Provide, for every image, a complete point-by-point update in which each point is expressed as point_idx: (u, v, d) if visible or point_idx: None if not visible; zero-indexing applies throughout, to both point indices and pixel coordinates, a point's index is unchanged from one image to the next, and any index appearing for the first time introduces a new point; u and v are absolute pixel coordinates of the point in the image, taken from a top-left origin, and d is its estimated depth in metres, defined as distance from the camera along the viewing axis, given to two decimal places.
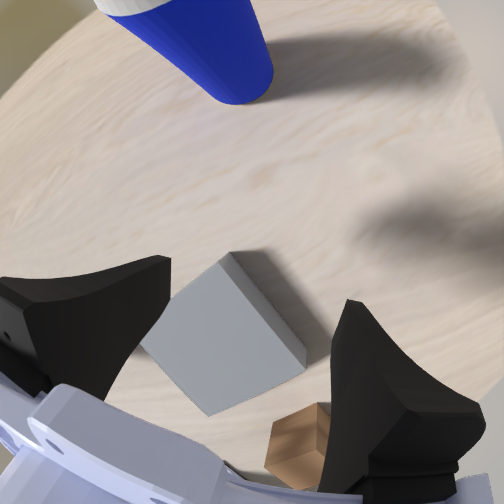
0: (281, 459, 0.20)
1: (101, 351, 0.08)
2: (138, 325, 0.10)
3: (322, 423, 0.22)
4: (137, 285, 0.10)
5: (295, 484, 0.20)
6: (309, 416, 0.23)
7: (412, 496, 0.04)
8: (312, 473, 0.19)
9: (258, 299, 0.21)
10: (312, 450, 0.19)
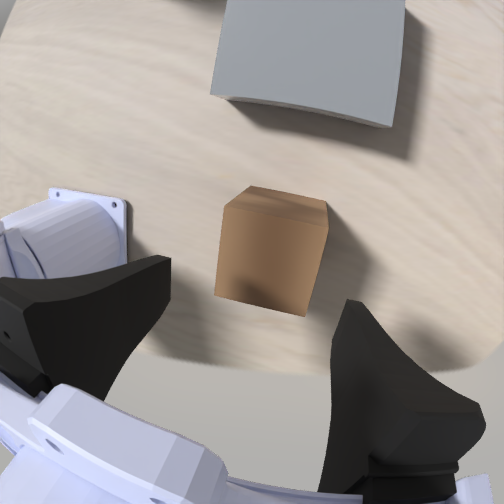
0: (261, 211, 0.14)
1: (101, 351, 0.08)
2: (138, 325, 0.10)
3: None
4: (137, 285, 0.10)
5: (228, 278, 0.16)
6: (314, 203, 0.18)
7: (412, 496, 0.04)
8: (274, 272, 0.15)
9: None
10: (322, 226, 0.13)
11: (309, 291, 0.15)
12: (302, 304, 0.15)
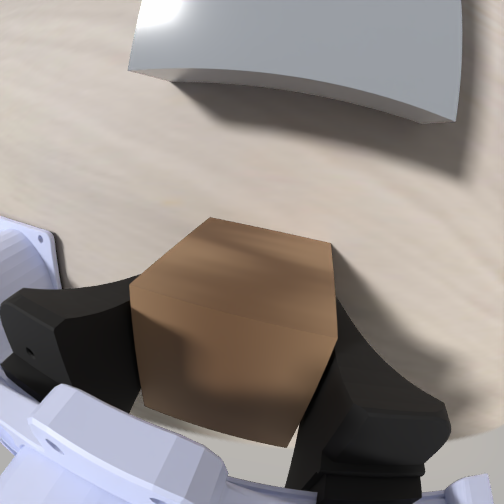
0: (198, 297, 0.07)
1: (128, 363, 0.08)
2: None
3: None
4: None
5: (158, 392, 0.08)
6: (310, 253, 0.10)
7: (370, 498, 0.04)
8: (231, 396, 0.08)
9: None
10: (324, 334, 0.06)
11: (294, 423, 0.08)
12: (282, 436, 0.08)
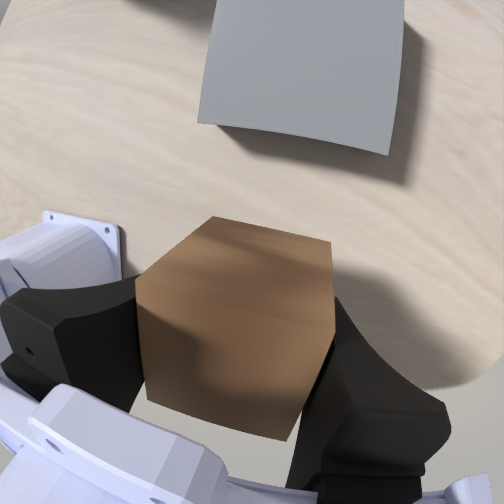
0: (202, 293, 0.07)
1: (128, 363, 0.08)
2: None
3: None
4: None
5: (161, 385, 0.09)
6: (311, 252, 0.11)
7: (370, 498, 0.04)
8: (232, 389, 0.08)
9: None
10: (322, 328, 0.07)
11: (293, 416, 0.08)
12: (282, 429, 0.08)
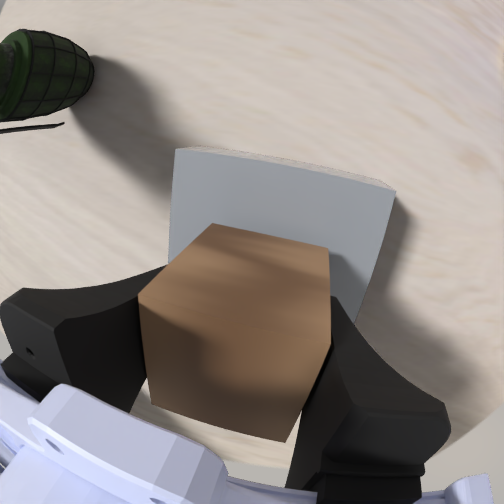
0: (202, 306, 0.07)
1: (128, 363, 0.08)
2: None
3: None
4: None
5: (165, 391, 0.09)
6: (308, 259, 0.11)
7: (369, 498, 0.04)
8: (233, 395, 0.08)
9: None
10: (317, 340, 0.07)
11: (291, 420, 0.08)
12: (281, 431, 0.09)
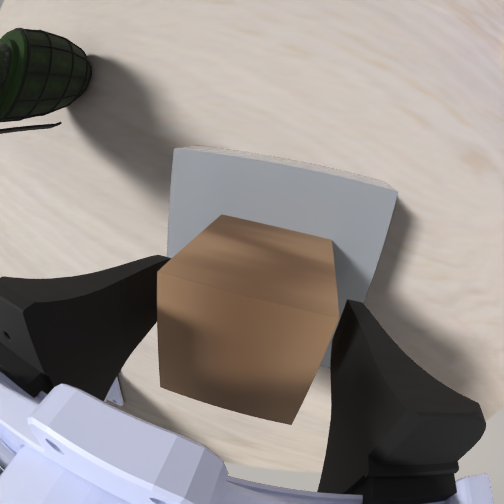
0: (219, 283, 0.08)
1: (101, 351, 0.08)
2: (138, 325, 0.10)
3: None
4: (137, 285, 0.10)
5: (176, 372, 0.09)
6: (314, 248, 0.11)
7: (412, 497, 0.04)
8: (244, 374, 0.09)
9: None
10: (327, 315, 0.07)
11: (299, 399, 0.09)
12: (288, 412, 0.09)
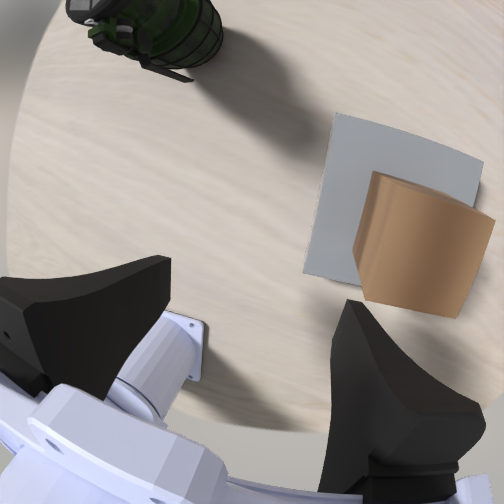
0: (436, 197, 0.10)
1: (101, 351, 0.08)
2: (138, 325, 0.10)
3: None
4: (137, 285, 0.10)
5: (388, 278, 0.12)
6: (445, 194, 0.14)
7: (412, 496, 0.04)
8: (440, 269, 0.11)
9: None
10: (490, 218, 0.10)
11: (467, 289, 0.11)
12: (457, 305, 0.11)
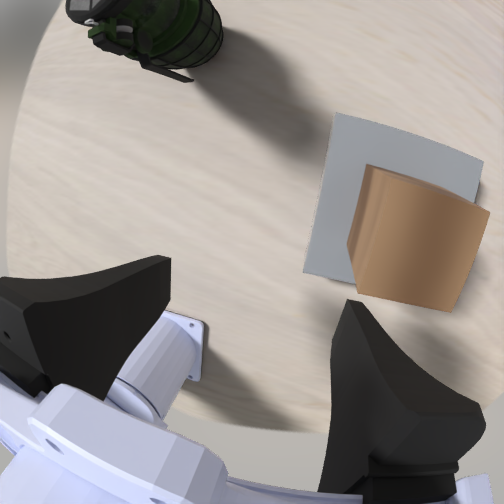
0: (428, 189, 0.10)
1: (101, 351, 0.08)
2: (138, 325, 0.10)
3: None
4: (137, 285, 0.10)
5: (380, 271, 0.12)
6: (440, 187, 0.14)
7: (412, 496, 0.04)
8: (434, 262, 0.11)
9: None
10: (485, 210, 0.10)
11: (462, 283, 0.11)
12: (452, 298, 0.11)
